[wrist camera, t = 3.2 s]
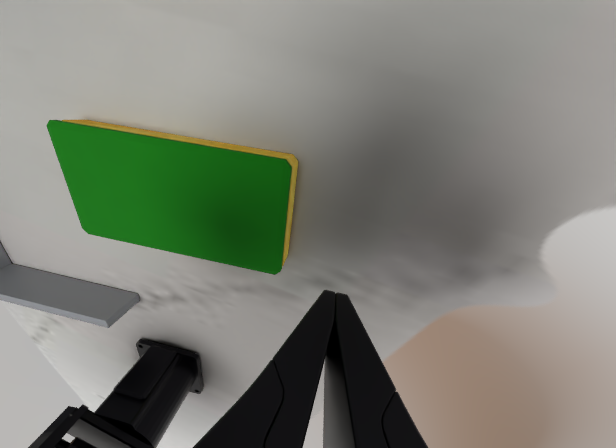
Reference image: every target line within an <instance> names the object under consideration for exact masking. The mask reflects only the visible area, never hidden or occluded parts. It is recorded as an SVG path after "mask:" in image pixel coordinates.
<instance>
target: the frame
mask: <svg viewBox="0 0 616 448" xmlns="http://www.w3.org/2000/svg"><path fill="white" fill-rule="evenodd" d="M0 300H2V301H6V302H10V303H14V304H17V305H21V306H25V307H29V308H33V309H37V310H41V311H45V312H48V313H52V314H56V315H60V316H64V317H68V318H72V319H76V320H80V321H83V322H87V323H91V324H95V325H99V326H103V327H107V328H109V327H110V326H111V325H113V324H114V323H115V322H116V321H117V320H118V319H119V318H120V317H122V316H123V315H124V314H125V313H126V312H127V311H128V310H129V309H131V308H132V307H133V306H134V305H135V304H136V303H137V302H139V301H140V299H139V295H138V294H137V293H133V292H129V291H124V290H120V289H116V288H112V287H108V286H104V285H99V284H95V283H91V282H87V281H83V280H78V279H74V278H70V277H66V276H62V275H58V274H53V273H49V272H45V271H41V270H37V269H33V268H28V267H24V266H20V265H16V264H12V263H11V261H10V259H9V257H8V256H7V254H6V252H5V250H4V248H3V247H2V245H1V243H0Z"/></svg>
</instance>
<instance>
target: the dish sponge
mask: <svg viewBox="0 0 616 448" xmlns="http://www.w3.org/2000/svg"><path fill="white" fill-rule="evenodd" d="M47 129H48V131H49V134H50V137H51V140H52V143H53V146H54V149H55V151H56V154H57V157H58V160H59V163H60V166H61V169H62V171H63V174H64V177H65V180H66V183H67V186H68V189H69V191H70V194H71V197H72V200H73V203H74V206H75V209H76V211H77V214H78V217H79V220H80V223H81V226H82V229H84V230H85V231H86V232H87V233H88V234H91V235H96V236H101V237H105V238H110V239H114V240H119V241H123V242H128V243H133V244H137V245H142V246H146V247H151V248H155V249H160V250H165V251H169V252H174V253H178V254H183V255H187V256H192V257H197V258H201V259H206V260H210V261H215V262H219V263H224V264H229V265H233V266H238V267H242V268H247V269H251V270H256V271H261V272H265V273H270V274H274V275H275V274H277V273H279V272H280V271H281V269H282V266H283V265H284V262H285V260H286V258H287V256H288V250H289V241H290V232H291V223H292V214H293V205H294V196H295V187H296V178H297V169H298V160H297V159H296V158H295V156H294V155H293V154H287V153H281V152H275V151H269V150H263V149H257V148H252V147H246V146H240V145H234V144H228V143H222V142H216V141H210V140H204V139H198V138H192V137H186V136H180V135H174V134H168V133H162V132H156V131H150V130H144V129H138V128H132V127H126V126H120V125H114V124H108V123H102V122H96V121H90V120H62V121H59V120H50V121H49V122H48V124H47Z"/></svg>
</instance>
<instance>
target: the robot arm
mask: <svg viewBox="0 0 616 448" xmlns="http://www.w3.org/2000/svg"><path fill="white" fill-rule="evenodd" d="M136 347H137V350H138V353H139V356H140V359H139V360H138V361H137V362H136V363H135V364H134V365H133V367H132V368H131V369H130V370H129V371H128V372H127V374H126V375H125V376H124V377H123V378H122V379H121V381H120V382H119V383H118V384H117V385H116V386H115V388H114V390H113V391H112V393H111V394H110V395H109V396H108V397H107V398H106V399H105V401H104V402H103V403H102V404H101V405H100V406H99V408H98V409H97V410H96V411H95V412H92V411H90V410H88V407H86V406H85V405H82V406H81V407H80V408H79V409H78V408H77V407H76V408H75V407H70V406H68V407H67V409H65V411H64V412H63V413H62V414H61V415H60V416H59V417H58V418H57V419H56V420H55V421H54V422H53V423H52V424H51V425H50V426H49V427H48V428H47V429H46V430H45V431H44V432H43V433H42V434H41V435H40V436H39V437H38V438H37V439H36V440H35V441H34V442H33V443H32V444H31V445H30V446H29V447H28V448H156V447H157V445H158V444H159V442H160V440H161V438H162V437H163V435H164V433H165V432H166V430H167V428H168V426H169V425H170V423H171V421H172V420H173V418H174V416H175V414H176V413H177V411H178V409H179V408H180V406H181V404H182V402H183V401H184V399H185V397H186V396H187V394H188V392H189V391H190V392H193V393H197V394H200V393H201V392H202V390H203V383H202V375H201V368H200V360H199V356H198V355H197V354H196V353H193V352H189V351H185V350H182V349H178V348H174V347H170V346H166V345H162V344H158V343H154V342H151V341H147V340H143V339H140V340H139V341H138V342H137V343H136ZM324 360H325V376H324V428H323V448H428V446H427V445H426V443H425V441H424V440H423V438H422V436H421V435H420V433H419V431H418V429H417V428H416V426H415V424H414V422H413V420H412V418H411V417H410V415H409V413H408V411H407V409H406V407H405V406H404V404H403V402H402V400H401V398H400V396H399V394H398V392H395V391H396V388H395V386H394V384H393V382H392V380H391V378H390V377H389V375H388V373H387V371H386V369H385V367H384V365H383V363H382V361H381V359H380V357H379V355H378V353H377V351H376V349H375V347H374V345H373V343H372V341H371V339H370V338H369V336H368V334H367V332H366V330H365V328H364V326H363V324H362V322H361V320H360V318H359V316H358V314H357V312H356V310H355V308H354V306H353V305H352V303H351V301H350V299H349V297H348V295H346V294H342V293H336V294H335V292H333V291H329V290H324V291H323V292H322V294H321V295H320V296H319V298H318V299H317V300H316V301H315V303H314V304H313V305H312V307H311V308H310V309H309V311H308V312H307V313H306V315H305V316H304V317H303V319H302V320H301V321H300V323H299V324H298V325H297V327H296V328H295V329H294V331H293V332H292V333H291V335H290V336H289V337H288V339H287V340H286V341H285V343H284V344H283V345H282V347H281V348H280V349H279V351H278V352H277V353H276V355H275V356H274V357H273V360H271V361H270V362H269V364H268V365H267V366H266V368H265V369H264V370H263V371H262V373H261V374H260V375H259V376H258V378H257V379H256V380H255V381H254V383H253V384H252V385H251V386H250V387H249V389H248V390H247V391H246V392H245V393H244V394H243V395H242V396H241V397H240V399H239V400H238V401H237V402H236V403H235V404H234V405H233V406H232V407H231V408H230V409H229V410H228V411H227V412H226V413H225V415H224V416H223V417H222V418H221V419H220V420H219V421H218V422H217V423H216V424H215V425H214V426H213V427H212V428H211V429H210V430H209V431H208V432H207V433H206V434H205V435H204V436H203V437H202V439H201V440H200V441H199V442H198V443H197V444H196V445H195V446H194V447H193V448H302V447H303V443H304V440H305V435H306V432H307V428H308V424H309V420H310V416H311V412H312V408H313V404H314V400H315V396H316V392H317V388H318V384H319V380H320V376H321V372H322V368H323V364H324ZM66 433H68V434H70V435H72V436H74V437H75V439H74V440H73V441H72V442H71V443H69V442H67V441H65V440H64V439H62V437H63V436H64V435H65V434H66Z"/></svg>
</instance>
